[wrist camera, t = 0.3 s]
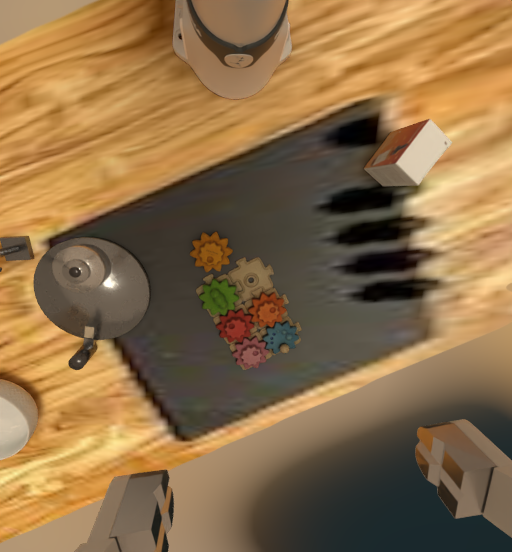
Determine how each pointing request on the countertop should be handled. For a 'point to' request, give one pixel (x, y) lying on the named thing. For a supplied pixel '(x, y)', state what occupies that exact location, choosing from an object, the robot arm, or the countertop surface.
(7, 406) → the cereal bowl
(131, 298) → the turntable
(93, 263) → the cover
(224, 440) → the countertop surface
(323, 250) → the countertop surface
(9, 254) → the lever with square base
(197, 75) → the robot arm
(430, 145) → the small box
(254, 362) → the gear puzzle
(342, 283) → the countertop surface
